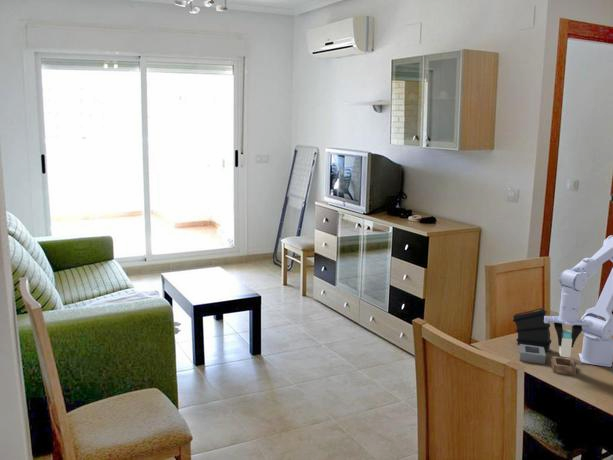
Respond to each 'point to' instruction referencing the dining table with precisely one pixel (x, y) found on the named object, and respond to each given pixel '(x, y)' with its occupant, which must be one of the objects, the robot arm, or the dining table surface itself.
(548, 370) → the dining table surface
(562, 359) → the brown wooden frame
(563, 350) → the plug
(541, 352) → the port panel
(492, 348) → the dining table surface
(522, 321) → the black piece
